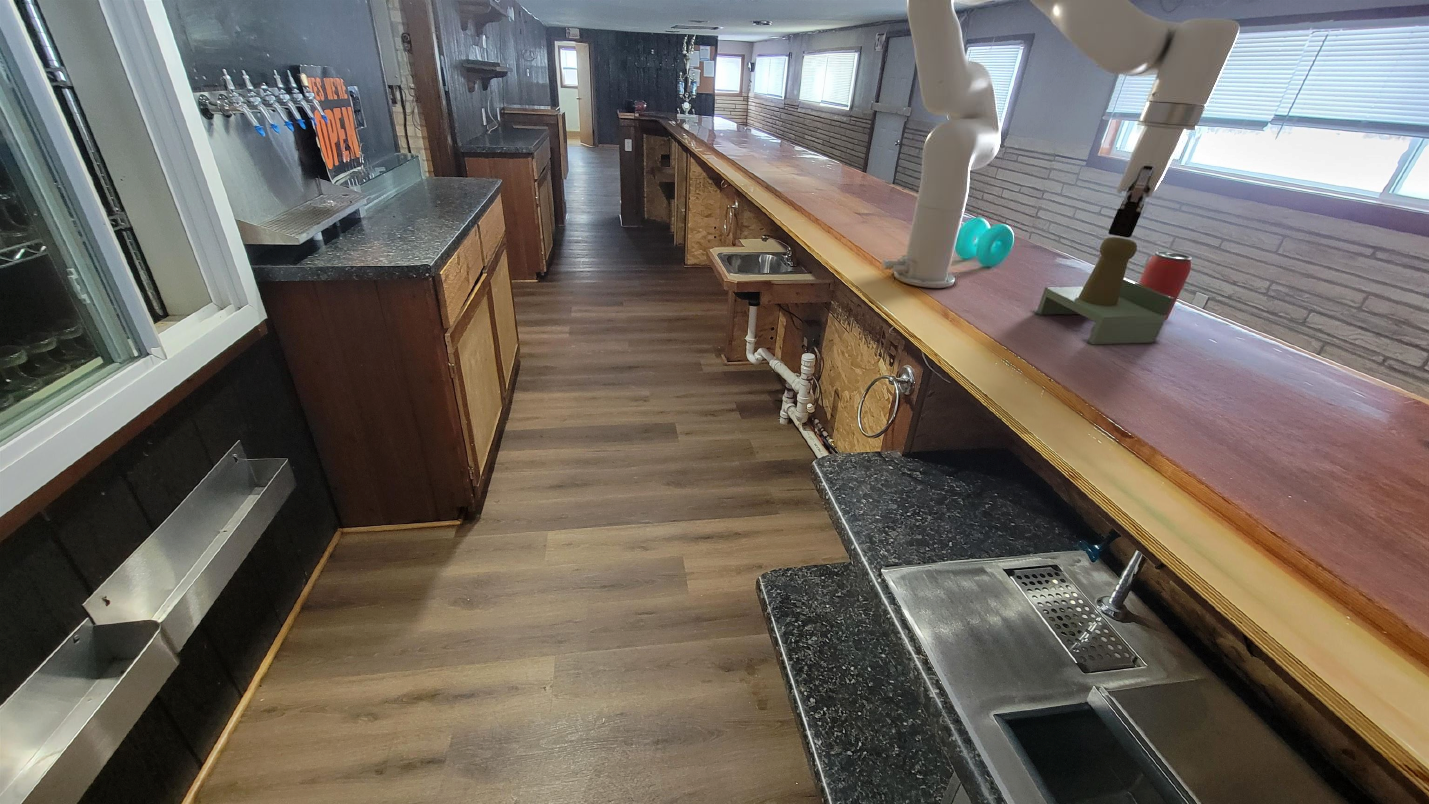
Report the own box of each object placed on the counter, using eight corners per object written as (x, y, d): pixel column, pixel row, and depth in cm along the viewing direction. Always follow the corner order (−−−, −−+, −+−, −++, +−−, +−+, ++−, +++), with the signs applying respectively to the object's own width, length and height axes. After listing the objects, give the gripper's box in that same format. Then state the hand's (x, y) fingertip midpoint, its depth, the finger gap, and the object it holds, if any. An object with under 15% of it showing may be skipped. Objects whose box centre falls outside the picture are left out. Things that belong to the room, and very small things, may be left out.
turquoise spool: (977, 255, 144) (988, 215, 139) (1009, 266, 136) (1022, 224, 131) (947, 258, 140) (957, 217, 135) (978, 270, 132) (990, 226, 127)
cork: (1104, 308, 96) (1130, 243, 91) (1071, 297, 101) (1094, 235, 96) (1124, 303, 99) (1151, 240, 94) (1091, 293, 104) (1115, 232, 98)
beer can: (1153, 312, 111) (1181, 251, 105) (1174, 324, 105) (1204, 261, 99) (1119, 309, 111) (1144, 249, 105) (1137, 322, 106) (1165, 258, 100)
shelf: (1092, 344, 95) (1111, 299, 91) (1036, 312, 108) (1050, 271, 104) (1154, 342, 97) (1175, 298, 93) (1091, 311, 110) (1107, 271, 106)
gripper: (1143, 113, 93) (1101, 218, 102) (1137, 116, 81) (1090, 235, 90) (1198, 118, 90) (1149, 226, 99) (1201, 121, 78) (1145, 245, 86)
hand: (1121, 230), depth 94 cm, fingers open, 9 cm apart
